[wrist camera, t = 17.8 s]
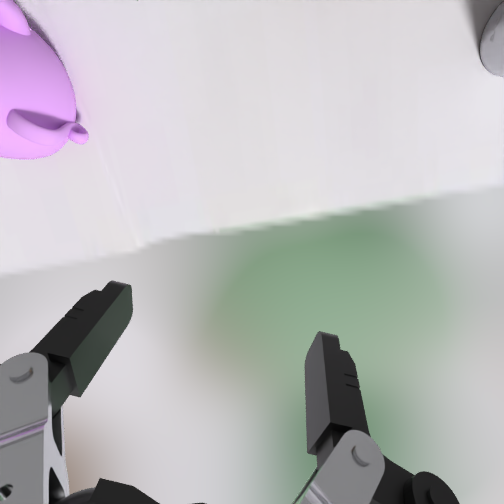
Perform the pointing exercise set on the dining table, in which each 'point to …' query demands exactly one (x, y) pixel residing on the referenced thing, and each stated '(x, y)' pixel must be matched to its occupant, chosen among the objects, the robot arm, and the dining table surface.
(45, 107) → the teapot
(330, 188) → the dining table surface
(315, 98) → the dining table surface
